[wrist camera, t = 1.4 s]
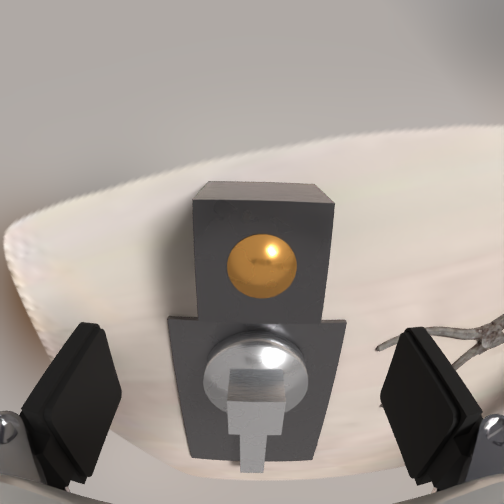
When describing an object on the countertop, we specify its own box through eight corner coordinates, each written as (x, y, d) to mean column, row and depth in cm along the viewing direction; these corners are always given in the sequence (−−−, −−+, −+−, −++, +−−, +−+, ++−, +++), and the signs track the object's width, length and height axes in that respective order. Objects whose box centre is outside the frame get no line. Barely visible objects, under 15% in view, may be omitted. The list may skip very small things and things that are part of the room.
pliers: (360, 357, 26) (531, 254, 22) (357, 351, 27) (526, 251, 23) (384, 414, 29) (531, 324, 25) (382, 409, 30) (527, 321, 26)
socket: (314, 184, 21) (335, 203, 16) (306, 279, 24) (321, 324, 18) (208, 181, 21) (192, 199, 16) (210, 277, 24) (198, 322, 18)
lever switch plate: (345, 319, 25) (365, 367, 19) (311, 459, 32) (316, 499, 27) (168, 316, 25) (148, 363, 19) (192, 457, 32) (186, 497, 27)
